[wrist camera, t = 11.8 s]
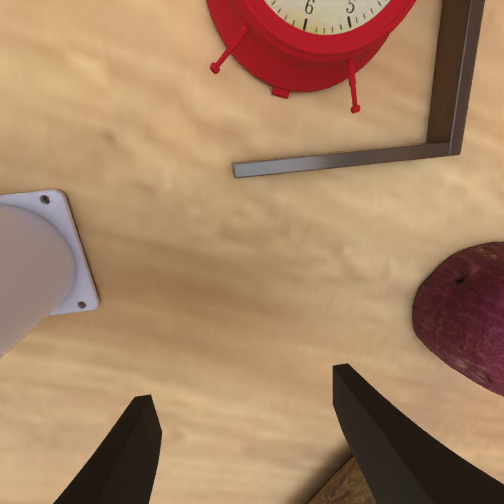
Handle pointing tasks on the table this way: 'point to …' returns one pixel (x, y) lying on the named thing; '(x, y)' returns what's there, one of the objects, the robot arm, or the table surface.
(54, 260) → the robot arm
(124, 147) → the table surface
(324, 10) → the alarm clock
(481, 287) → the vegetable
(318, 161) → the walnut frame
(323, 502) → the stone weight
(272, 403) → the table surface
